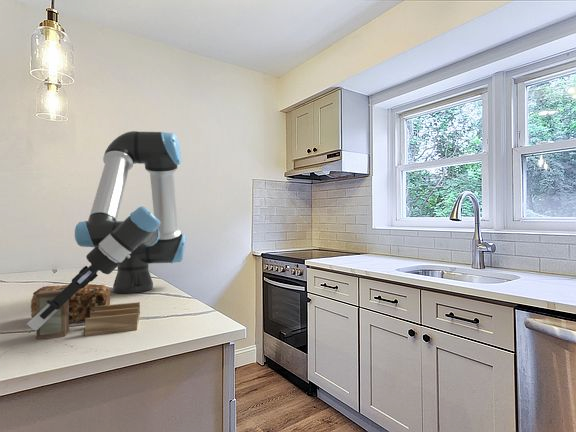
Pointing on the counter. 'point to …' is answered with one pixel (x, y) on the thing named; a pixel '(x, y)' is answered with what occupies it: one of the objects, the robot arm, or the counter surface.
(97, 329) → the divided tray
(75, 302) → the bread
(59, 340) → the counter surface
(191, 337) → the counter surface
